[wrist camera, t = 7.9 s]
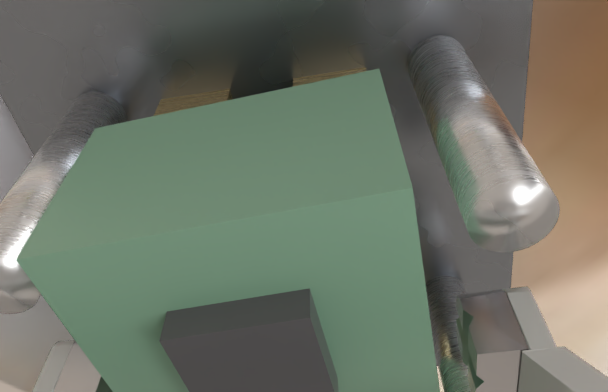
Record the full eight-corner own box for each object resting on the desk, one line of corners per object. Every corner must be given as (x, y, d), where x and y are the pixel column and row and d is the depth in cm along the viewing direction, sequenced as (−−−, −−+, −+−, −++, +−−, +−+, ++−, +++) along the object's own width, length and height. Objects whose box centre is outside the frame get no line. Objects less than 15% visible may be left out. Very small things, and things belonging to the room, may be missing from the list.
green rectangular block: (95, 128, 12) (-3, 288, 8) (379, 68, 11) (419, 215, 7) (235, 399, 17) (217, 564, 14) (425, 372, 17) (461, 540, 13)
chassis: (-43, -40, 13) (-312, 94, 7) (527, -150, 12) (741, -91, 6) (169, 372, 22) (125, 570, 17) (497, 336, 21) (569, 537, 15)
